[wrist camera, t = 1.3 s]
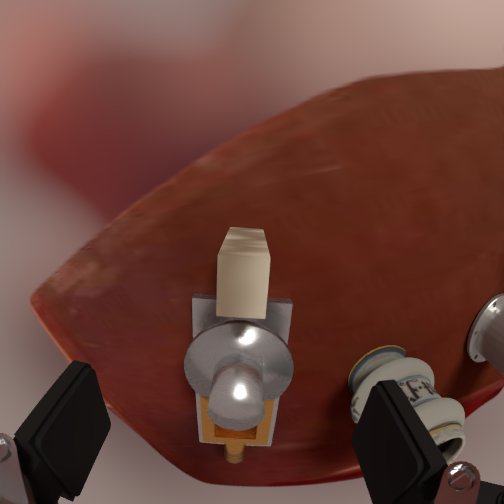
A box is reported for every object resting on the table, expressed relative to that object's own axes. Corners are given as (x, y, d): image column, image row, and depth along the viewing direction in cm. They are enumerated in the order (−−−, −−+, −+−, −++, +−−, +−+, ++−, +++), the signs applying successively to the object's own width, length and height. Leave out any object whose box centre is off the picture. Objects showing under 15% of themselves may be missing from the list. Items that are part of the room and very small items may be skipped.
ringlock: (290, 298, 33) (312, 364, 20) (270, 439, 39) (274, 505, 26) (194, 292, 33) (165, 355, 20) (200, 435, 39) (189, 500, 26)
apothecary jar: (425, 366, 36) (485, 442, 19) (365, 414, 38) (402, 501, 21) (393, 321, 34) (469, 407, 17) (323, 378, 36) (359, 485, 18)
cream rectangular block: (263, 229, 31) (270, 258, 19) (260, 269, 32) (265, 318, 21) (230, 227, 31) (217, 255, 19) (228, 267, 32) (216, 315, 20)
